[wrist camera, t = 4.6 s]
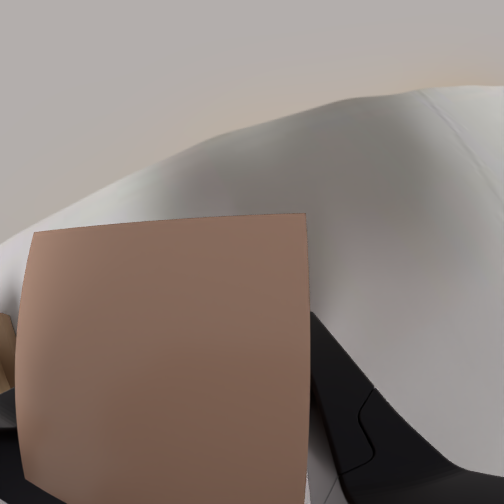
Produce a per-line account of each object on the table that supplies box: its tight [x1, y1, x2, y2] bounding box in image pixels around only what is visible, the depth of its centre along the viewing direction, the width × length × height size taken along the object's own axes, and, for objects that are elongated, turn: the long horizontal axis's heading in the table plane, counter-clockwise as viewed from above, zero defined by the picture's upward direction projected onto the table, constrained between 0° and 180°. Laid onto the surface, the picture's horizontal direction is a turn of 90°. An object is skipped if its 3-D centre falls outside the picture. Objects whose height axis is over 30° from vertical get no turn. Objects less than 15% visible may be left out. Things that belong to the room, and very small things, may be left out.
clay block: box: [15, 213, 310, 504], centre depth 8 cm, size 4×4×12 cm
